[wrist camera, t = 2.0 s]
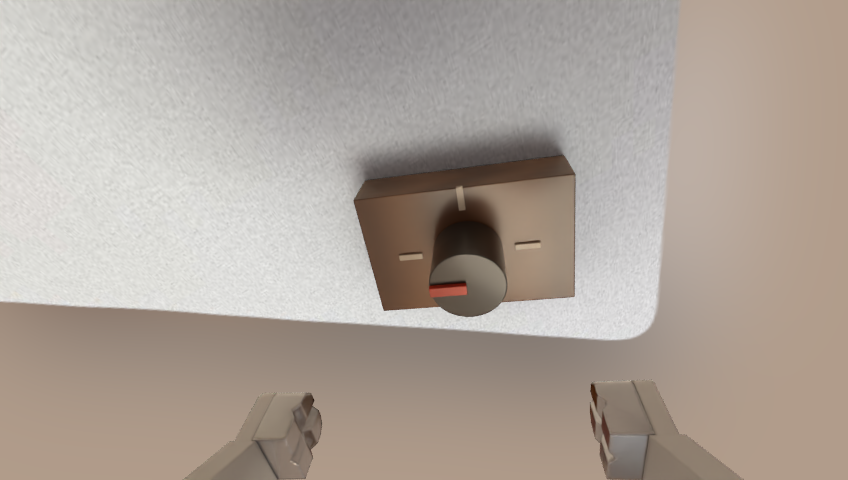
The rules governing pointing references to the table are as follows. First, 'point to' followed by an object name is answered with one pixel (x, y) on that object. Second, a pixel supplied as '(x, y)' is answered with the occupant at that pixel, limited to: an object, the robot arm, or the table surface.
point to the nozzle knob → (468, 269)
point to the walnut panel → (480, 202)
